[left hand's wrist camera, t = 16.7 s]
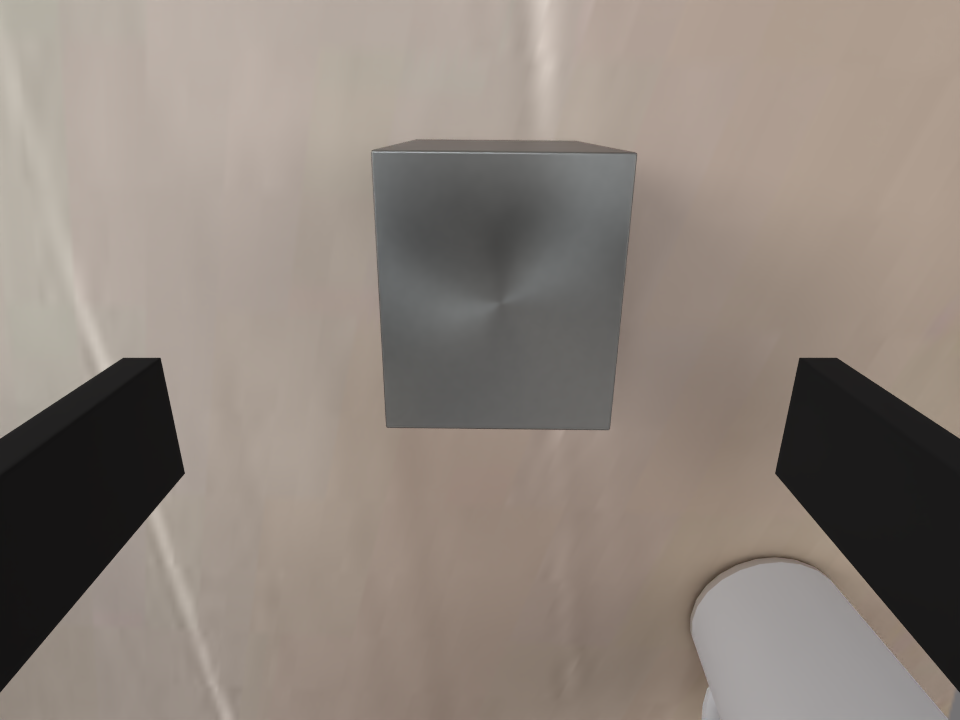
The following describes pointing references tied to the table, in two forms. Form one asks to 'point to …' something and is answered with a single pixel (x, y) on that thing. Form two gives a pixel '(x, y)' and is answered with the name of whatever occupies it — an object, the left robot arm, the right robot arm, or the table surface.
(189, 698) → the table surface
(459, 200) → the brick
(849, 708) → the mug
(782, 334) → the table surface
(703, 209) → the table surface
